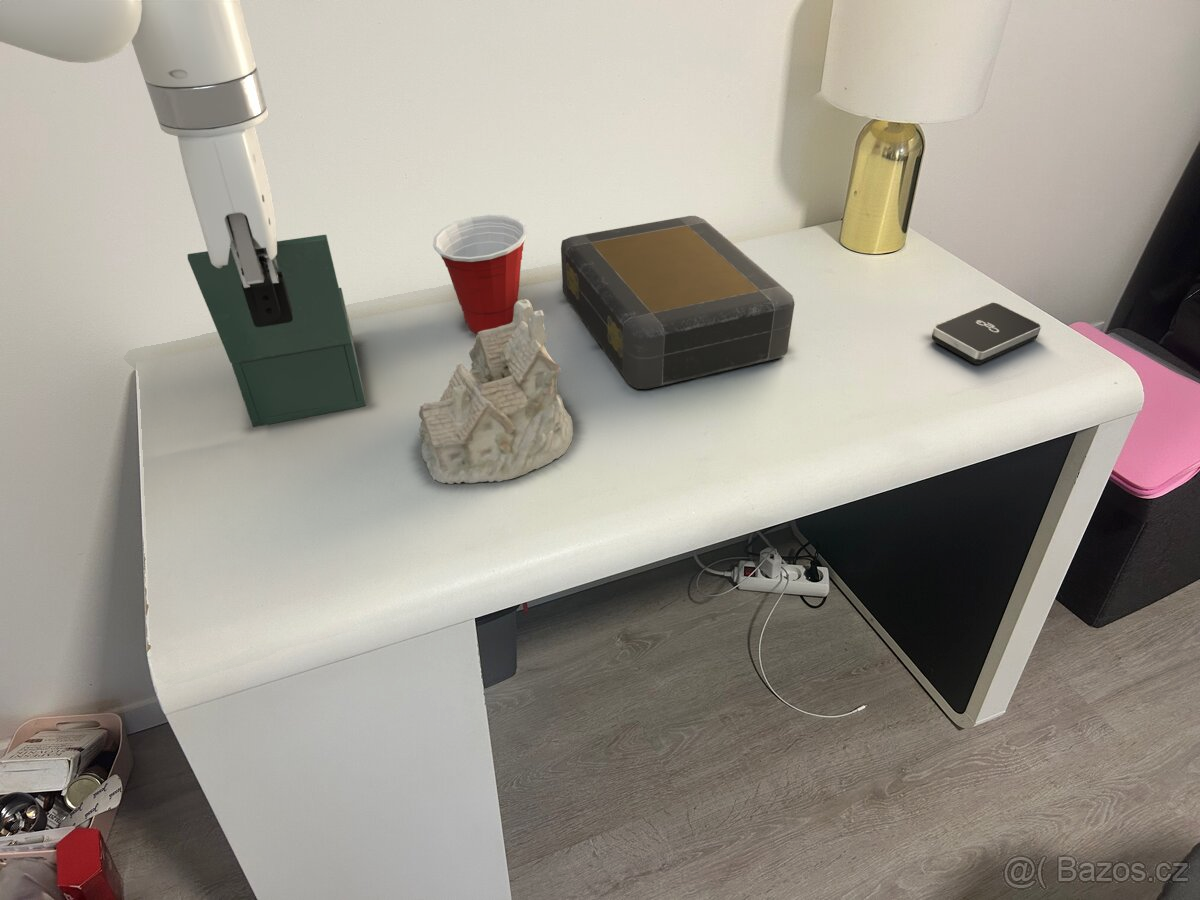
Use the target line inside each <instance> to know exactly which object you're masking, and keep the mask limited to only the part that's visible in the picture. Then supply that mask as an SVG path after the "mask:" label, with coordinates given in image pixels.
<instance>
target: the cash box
mask: <svg viewBox="0 0 1200 900" xmlns="http://www.w3.org/2000/svg"><path fill="white" fill-rule="evenodd" d="M560 258H561V261H560V262H561V282H562V283H561V285H562V295H563V296H564V297H565V299H566V300H567V301H568V303H569V304H570V305H571V307H572V308H573V309H574V311H575V312H576V314H577V315H578V317H579V318H580V319H581V321H582V322H583V323H584V325H585V326H586V327H587V329H588V330H589V332H590V333H591V334H592V336H593V337H594V338H595V340H596V341H597V343H598V344H599V346H600V347H601V348H602V350H603V351H604V353H605V354H606V355H607V356H608V357H609V359H610V360H611V362H612V363H613V364H614V366H615V368H616V369H617V370H618V372H619V373H620V374H621V375H622V377H623V378H624V379H625V381H626V382H627V383H628V384H629V385H630V386H631V387H633V388H635V389H637V390H649V389H653V388H657V387H661V386H667V385H671V384H675V383H679V382H682V381H683V382H684V381H688V380H692V379H695V378H696V379H697V378H700V377H704V376H705V377H706V376H709V375H713V374H717V373H721V372H726V371H730V370H734V369H738V368H743V367H747V366H751V365H754V364H755V365H756V364H760V363H765V362H768V361H772V360H776V359H781V358H782V357H783V356H785V355H787V353H788V349H789V343H790V337H791V330H792V324H793V316H794V311H795V304H796V303H795V299H794V295H793V294H791V292H789V291H788V290H787V289H786V288H785V287H784V286H782V284H780V283H779V282H778V281H776V280H775V279H774V278H773V277H772V276H771V275H770V274H769V273H767V272H766V271H765V270H764V269H762V268H761V266H759V265H758V264H757V263H756V262H754V260H752V259H751V258H750V257H749V256H748V255H746V254H745V253H744V252H743V251H742V250H741V249H739V248H738V247H737V246H736V245H735V244H733V242H731V241H730V240H729V239H728V238H726V237H725V236H724V235H723V233H721V232H720V231H718V230H717V229H716V228H715V227H714V226H713V225H712V224H711V223H709V222H708V221H706V220H705V218H702V217H699V216H697V215H687V216H681V217H676V218H669V219H664V220H659V221H652V222H647V223H641V224H636V225H635V224H634V225H629V226H623V227H618V228H614V229H613V228H612V229H608V230H607V229H605V230H601V231H596V232H590V233H584V234H579V235H574V236H570V237H567V238H565V239H562V240H561V244H560Z"/></svg>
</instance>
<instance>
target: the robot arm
mask: <svg viewBox="0 0 1200 900" xmlns="http://www.w3.org/2000/svg"><path fill="white" fill-rule="evenodd" d="M0 43H4V44H5V45H10V46H13V47H16V48H18V49H22V50H25V51H28V52H31V53H34V54H37V55H41V56H43V57H47V58H51V59H53V60H58V61H62V62H67V63H77V64H78V63H79V64H89V63H96V62H101V61H104V60H107V59H110V58H112V57H114V56H116V55H118V54H119V53H121V52H122V51H123V50H124V49H125V48H127V46H129V44H130V43H131V44H132V47H133V49H134V53H135V57H136V59H137V62H138V65H139V68H140V71H141V73H142V77H143V79H144V83H145V85H146V88H147V89H146V90H147V92H148V95H149V97H150V101H151V103H152V106H153V109H154V112H155V116H156V118H157V121H158V124H159V127H160V130H161V131H162V132H164V134H167V135H170V136H175V137H177V141H178V147H179V151H180V155H181V160H182V165H183V169H184V172H185V176H186V180H187V184H188V187H189V191H190V194H191V197H192V201H193V204H194V208H195V211H196V215H197V218H198V222H199V225H200V228H201V233H202V235H203V239H204V242H205V246H206V250H207V251H208V253H209V257H210V260H211V263H212V265H214V266H215V267H217V268H222V266H223V265H228V258H229V251H230V248H231V251H232V254H233V257H234V261H235V263H236V266H237V269H238V272H239V275H240V278H241V281H242V288H243V292H244V295H245V298H246V301H247V304H248V308H249V311H250V314H251V317H252V320H253V324H254V326H256V327H265V326H271V325H277V324H283V323H289V322H291V321H292V320H293V315H292V307H291V304H290V300H289V296H288V293H287V289H286V285H285V282H284V278H283V275H282V272H277V271H278V264H277V260H276V257H275V256H276V255H277V241H278V240H277V237H278V236H277V225H276V214H275V208H274V201H273V196H272V190H271V185H270V181H269V176H268V173H267V168H266V165H265V161H264V157H263V153H262V148H261V145H260V141H259V137H258V133H257V129H256V127H257V126H258V125H260V124H262V123H263V122H265V120H267V118H268V117H269V110H268V107H267V103H266V99H265V95H264V91H263V87H262V83H261V79H260V74H259V71H258V67H257V64H256V59H255V55H254V51H253V48H252V43H251V40H250V35H249V32H248V28H247V24H246V19H245V16H244V12H243V9H242V4H241V0H0Z"/></svg>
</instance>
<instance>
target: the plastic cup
mask: <svg viewBox="0 0 1200 900" xmlns="http://www.w3.org/2000/svg"><path fill="white" fill-rule="evenodd" d="M527 231H528V230H527V225H526V224H525V223H524V222H523V221H521V220H520V219H519V218H517V217H516V218H515V217H512V216H509V215H504V214H482V215H476V216H470V217H466V218H463V219H460V220H457V221H454V222H452V223H450V224H449V225H447V226H444V227H443V228H441V229H440V230H439V231H438V233H436V234H435V236H433V242H432V247H433V249H434V250H435V251H436V253H438V255H440V257H441V260H442V261H443V263H444V265H445V267H446V269H447V271H448V274H449V277H450V280H451V283H452V286H453V289H454V292H455V295H456V298H457V301H458V304H459V305H460V307H461V310H462V314H463V317H464V320H465V323H466V324H467V327H468V329H469V330H470V331H471V332H472V333H474V334H478V332H480V331H483V330H488V329H493V328H497V327H500V326H503V325H507V324H510V323H511V322H513V316H514V305H515V303H516V302H517V301H519V291H520V281H521V280H520V278H521V269H522V268H521V267H522V260H523V251H524V244H525V240H526V239H527V235H528V233H527Z"/></svg>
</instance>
